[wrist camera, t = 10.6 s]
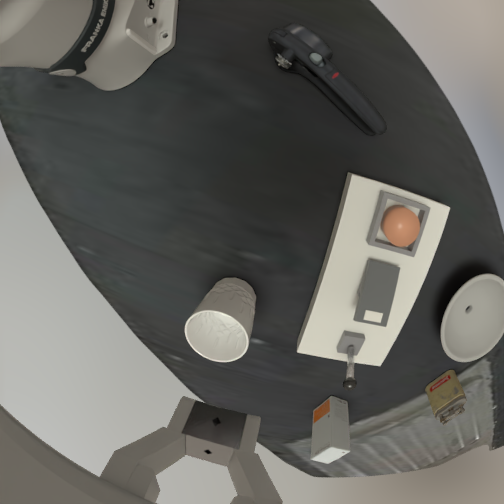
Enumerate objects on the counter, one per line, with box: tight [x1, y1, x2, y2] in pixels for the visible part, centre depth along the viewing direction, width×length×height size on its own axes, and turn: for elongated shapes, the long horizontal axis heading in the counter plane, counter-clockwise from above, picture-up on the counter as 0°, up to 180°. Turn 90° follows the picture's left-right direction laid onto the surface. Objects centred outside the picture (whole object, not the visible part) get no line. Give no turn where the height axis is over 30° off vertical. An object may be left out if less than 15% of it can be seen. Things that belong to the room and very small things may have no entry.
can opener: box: [268, 23, 387, 136], centre depth 26 cm, size 18×7×6 cm, turn 44°
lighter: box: [425, 370, 467, 425], centre depth 37 cm, size 7×4×10 cm, turn 137°
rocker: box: [353, 260, 400, 327], centre depth 32 cm, size 8×4×1 cm, turn 170°
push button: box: [380, 205, 420, 247], centre depth 29 cm, size 4×4×2 cm
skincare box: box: [311, 396, 350, 464], centre depth 42 cm, size 6×4×12 cm
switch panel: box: [297, 172, 450, 366], centre depth 35 cm, size 26×14×5 cm, turn 169°
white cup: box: [185, 277, 256, 362], centre depth 37 cm, size 8×8×10 cm
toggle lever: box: [343, 347, 356, 390], centre depth 34 cm, size 2×2×7 cm
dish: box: [441, 274, 504, 362], centre depth 33 cm, size 18×14×5 cm
